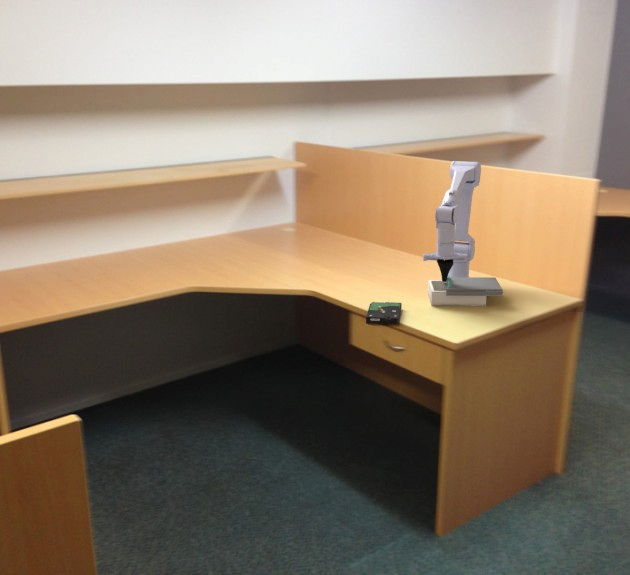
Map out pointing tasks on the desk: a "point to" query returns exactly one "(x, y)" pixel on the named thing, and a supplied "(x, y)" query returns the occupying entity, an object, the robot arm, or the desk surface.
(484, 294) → the lid
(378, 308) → the disk drive
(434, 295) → the box
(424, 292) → the desk surface
